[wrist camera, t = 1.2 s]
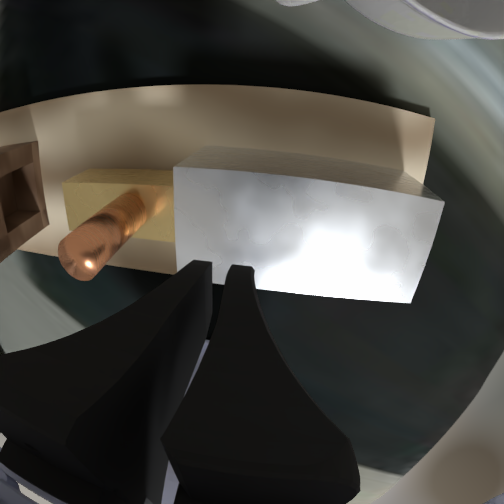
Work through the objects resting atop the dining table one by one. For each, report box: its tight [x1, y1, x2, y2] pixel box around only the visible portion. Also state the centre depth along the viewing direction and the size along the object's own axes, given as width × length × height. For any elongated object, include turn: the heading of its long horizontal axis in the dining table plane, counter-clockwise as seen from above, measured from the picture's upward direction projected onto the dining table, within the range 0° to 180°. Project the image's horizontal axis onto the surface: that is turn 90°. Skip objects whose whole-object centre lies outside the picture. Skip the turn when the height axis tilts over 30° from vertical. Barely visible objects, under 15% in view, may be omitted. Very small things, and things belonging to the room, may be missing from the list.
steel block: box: [173, 146, 445, 303], centre depth 16 cm, size 6×12×6 cm, turn 86°
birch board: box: [0, 85, 435, 274], centre depth 19 cm, size 13×33×1 cm, turn 86°
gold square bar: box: [58, 169, 175, 281], centre depth 14 cm, size 3×19×8 cm, turn 86°
